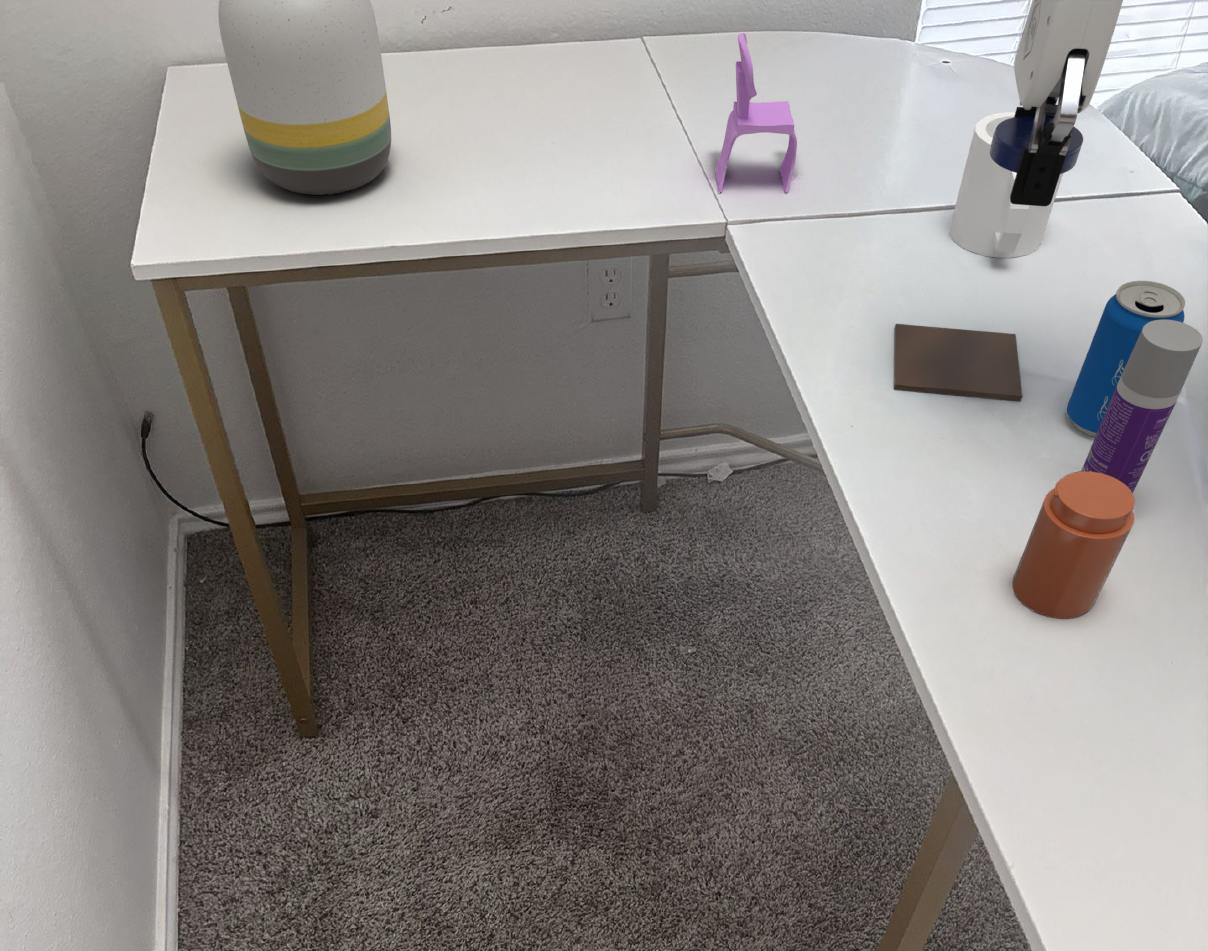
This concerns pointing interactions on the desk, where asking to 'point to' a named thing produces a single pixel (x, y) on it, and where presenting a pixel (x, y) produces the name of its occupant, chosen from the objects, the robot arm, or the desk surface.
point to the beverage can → (1118, 346)
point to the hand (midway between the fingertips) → (1026, 180)
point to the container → (1143, 400)
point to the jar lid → (1026, 143)
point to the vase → (309, 90)
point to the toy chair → (755, 119)
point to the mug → (994, 203)
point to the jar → (1074, 544)
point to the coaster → (956, 362)
